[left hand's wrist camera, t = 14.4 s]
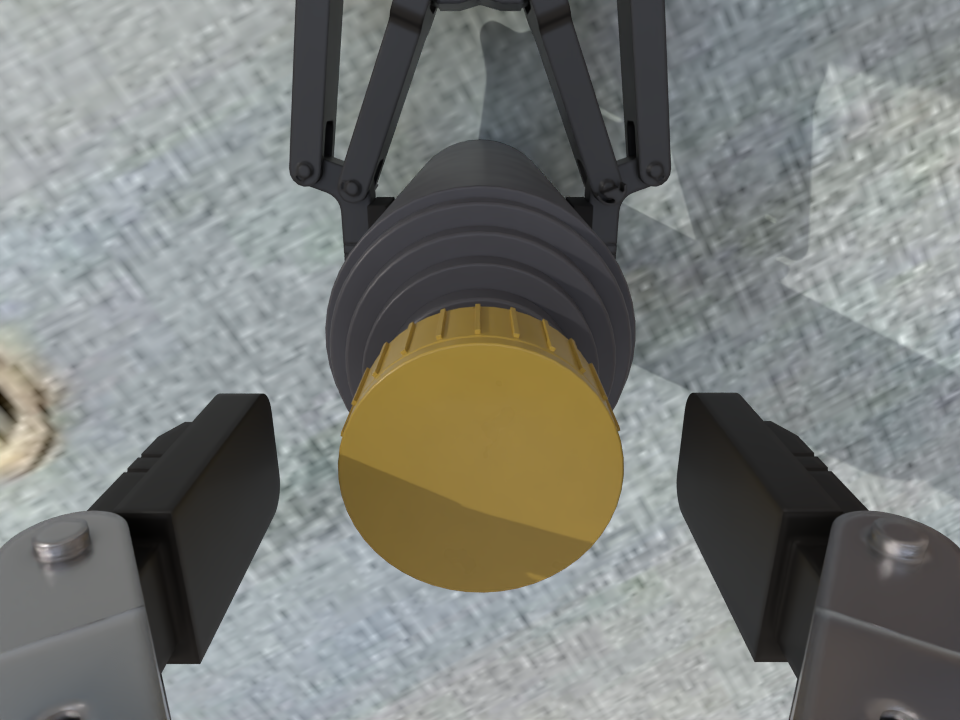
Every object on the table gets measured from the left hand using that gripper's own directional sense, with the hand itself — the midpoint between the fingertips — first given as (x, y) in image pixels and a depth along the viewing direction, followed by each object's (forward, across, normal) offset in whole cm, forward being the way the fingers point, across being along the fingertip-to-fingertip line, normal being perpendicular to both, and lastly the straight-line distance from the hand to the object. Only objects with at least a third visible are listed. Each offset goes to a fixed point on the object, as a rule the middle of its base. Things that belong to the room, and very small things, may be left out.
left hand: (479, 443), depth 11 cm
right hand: (+18, 0, -5) cm, 19 cm away
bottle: (+24, 0, 0) cm, 24 cm away
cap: (-1, 0, 0) cm, 1 cm away
